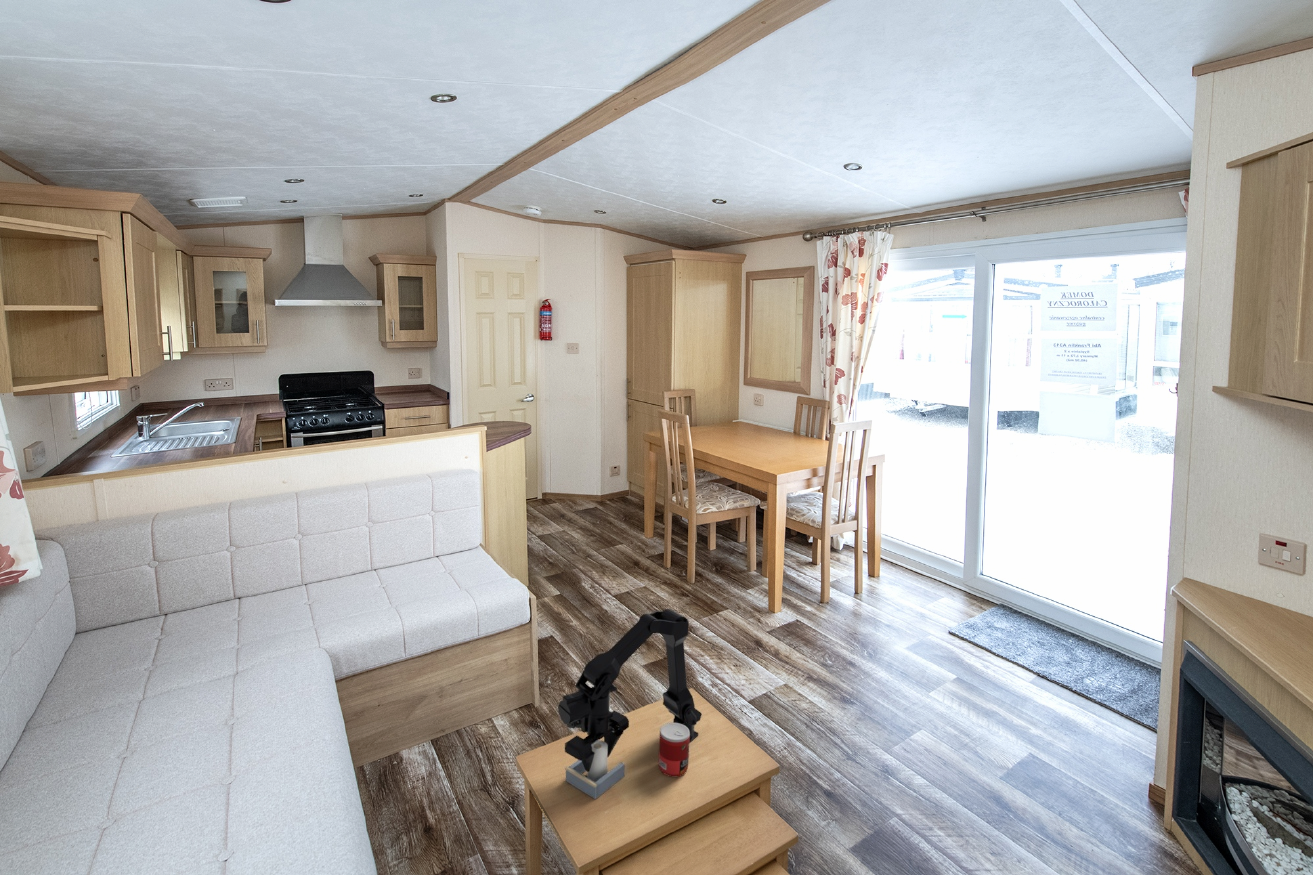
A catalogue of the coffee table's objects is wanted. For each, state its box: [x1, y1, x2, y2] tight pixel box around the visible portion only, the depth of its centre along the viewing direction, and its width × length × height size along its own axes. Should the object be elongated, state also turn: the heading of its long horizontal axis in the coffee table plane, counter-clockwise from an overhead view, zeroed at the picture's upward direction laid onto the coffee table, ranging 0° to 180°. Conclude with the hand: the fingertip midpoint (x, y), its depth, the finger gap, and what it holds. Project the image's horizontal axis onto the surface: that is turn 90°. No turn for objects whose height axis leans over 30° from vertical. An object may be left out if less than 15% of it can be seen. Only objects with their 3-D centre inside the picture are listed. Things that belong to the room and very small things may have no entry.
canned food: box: [658, 722, 690, 777], centre depth 181 cm, size 8×8×11 cm
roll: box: [586, 739, 608, 782], centre depth 176 cm, size 5×5×9 cm
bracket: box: [564, 759, 626, 800], centre depth 176 cm, size 12×10×4 cm
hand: (597, 763), depth 176 cm, fingers open, 7 cm apart
